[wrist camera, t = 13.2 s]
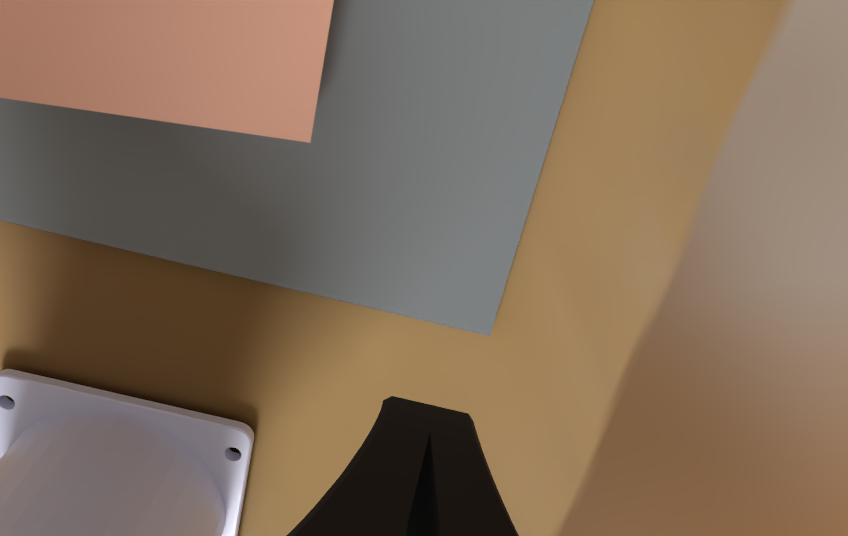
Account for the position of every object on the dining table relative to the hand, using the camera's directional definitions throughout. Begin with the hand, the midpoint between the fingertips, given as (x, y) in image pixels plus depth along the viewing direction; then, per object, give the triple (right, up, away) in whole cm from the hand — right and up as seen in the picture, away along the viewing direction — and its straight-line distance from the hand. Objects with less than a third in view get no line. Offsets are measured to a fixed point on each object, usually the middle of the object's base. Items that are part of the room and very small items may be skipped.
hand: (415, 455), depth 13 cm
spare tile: (-2, +8, +6) cm, 10 cm away
